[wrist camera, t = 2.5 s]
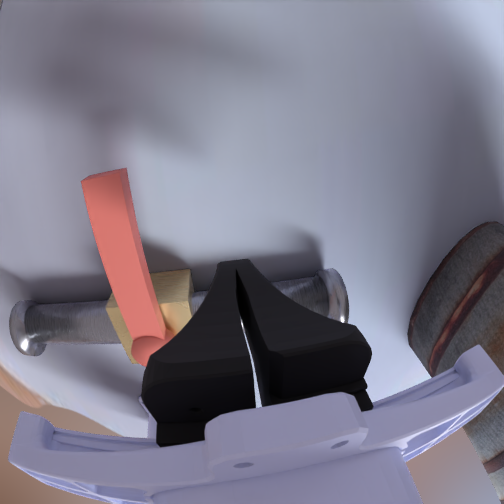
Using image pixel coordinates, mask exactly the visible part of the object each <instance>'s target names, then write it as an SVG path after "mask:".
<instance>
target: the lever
mask: <svg viewBox="0 0 504 504" xmlns="http://www.w3.org/2000/svg"><path fill="white" fill-rule="evenodd" d="M81 184H82V188H83V193H84V198H85V202H86V206H87V210H88V214H89V218H90V222H91V226H92V229H93V233H94V236H95V240H96V243H97V247H98V250H99V253H100V256H101V259H102V262H103V265H104V268H105V271H106V274H107V277H108V280H109V283H110V285H111V288H112V291H113V294H114V296H115V299H116V301H117V304H118V306H119V309H120V311H121V314H122V316H123V319H124V321H125V323H126V326H127V328H128V330H129V333H130V335H131V337H132V339H133V343H132V347H131V354H132V356H133V358H134V359H135V360H136V361H137V362H138V363H139V364H141V365H143V366H145V367H146V365H147V362H148V359H149V357H150V355H151V354H153V353H154V352H156V351H157V350H158V349H160V348H161V347H162V346H164V345H165V344H166V343H168V342H169V341H170V340H171V339H172V338H173V337H174V336H175V335H174V334H173V333H172V332H171V331H170V330H168V329H167V328H166V327H165V324H164V321H163V317H162V314H161V311H160V308H159V305H158V302H157V298H156V295H155V291H154V288H153V285H152V281H151V278H150V274H149V270H148V266H147V263H146V259H145V255H144V251H143V247H142V243H141V239H140V234H139V230H138V225H137V221H136V216H135V211H134V207H133V202H132V196H131V191H130V186H129V180H128V174H127V168H122V169H117V170H113V171H108V172H103V173H99V174H94V175H90V176H88V177H87V178H85V179H84V180H82V181H81Z"/></svg>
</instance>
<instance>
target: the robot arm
mask: <svg viewBox="0 0 504 504" xmlns="http://www.w3.org/2000/svg"><path fill="white" fill-rule="evenodd" d="M240 317H241V319H240ZM241 320H242V323H241ZM242 324H243V327H244V330H245V334H246V337H247V341H248V344H249V347H250V350H251V354H252V358H253V362H254V367H255V372H256V377H257V382H258V388H259V393H260V398H261V404H262V407H259V408H256V402H255V390H254V378H253V369H252V364H251V359H250V354H249V351H248V347H247V344H246V340H245V336H244V332H243V328H242ZM371 356H372V351H371V347H370V346H369V344H368V342H367V341H366V339H365V338H364V336H363V335H362V333H361V332H360V331H359V330H358V328H357V327H356V326H355V325H351V324H348V323H344V322H341V321H337V320H334V319H331V318H328V317H326V316H323V315H321V314H318V313H316V312H314V311H312V310H310V309H308V308H306V307H304V306H302V305H300V304H298V303H297V302H295V301H293V300H292V299H290V298H289V297H287V296H286V295H285V294H283V293H282V292H281V291H279V290H278V289H277V288H276V287H275V286H273V285H272V284H271V283H270V282H269V281H268V280H267V279H266V278H265V277H264V276H263V275H262V274H261V273H260V272H259V271H258V270H257V269H256V267H255V266H254V265H253V264H252V263H251V261H250V260H248V259H242V260H233V261H225V262H220V263H219V264H218V267H217V271H216V274H215V277H214V280H213V282H212V284H211V287H210V289H209V291H208V293H207V294H206V296H205V298H204V300H203V302H202V303H201V305H200V307H199V308H198V310H197V311H196V312H195V314H194V315H193V316H192V318H191V319H190V320H189V321H188V323H187V324H186V325H185V326H184V327H183V328H182V330H181V331H179V332H178V333H177V334H176V335H175V336H174V337H173V338H172V339H171V340H170V341H169V342H168V343H166V344H165V345H164V346H162V347H161V348H160V349H158V350H157V351H156V352H154V353H153V354H151V355H150V357H149V359H148V362H147V365H146V369H145V372H144V376H143V383H142V394H141V397H139V402H140V403H141V405H142V406H143V408H144V409H145V410H146V412H147V413H148V415H149V420H148V437H147V438H132V437H118V436H108V435H99V434H91V433H84V432H78V431H72V430H66V429H61V428H56V427H54V426H53V425H52V424H51V423H50V422H49V421H48V420H47V419H45V418H43V417H42V416H39V415H36V414H31V413H28V412H24V411H21V412H20V415H19V418H18V422H17V425H16V429H15V432H14V436H13V440H12V444H11V448H10V453H9V457H8V460H9V462H10V463H12V464H13V465H15V466H16V467H18V468H19V469H21V470H22V471H24V472H26V473H27V474H29V475H31V476H33V477H34V478H36V479H37V480H39V481H41V482H43V483H45V484H47V485H49V486H52V487H55V488H58V489H61V490H64V491H68V492H71V493H74V494H77V495H81V496H84V497H88V498H91V499H95V500H99V501H103V502H108V503H112V504H423V502H422V499H421V497H420V495H419V492H418V490H417V488H416V485H415V483H414V481H413V479H412V476H411V474H410V472H409V470H408V467H407V465H406V463H405V462H407V461H408V460H410V459H412V458H414V457H416V456H417V455H419V454H421V453H422V452H424V451H426V450H427V449H429V448H431V447H432V446H434V445H435V444H437V443H438V442H440V441H441V440H443V439H444V438H446V437H448V436H449V435H451V434H452V433H453V432H455V431H456V430H458V429H459V428H460V427H462V426H463V425H465V424H466V423H468V422H469V421H470V420H472V419H473V418H474V417H476V416H477V415H478V414H479V413H480V412H481V411H482V410H483V409H484V408H485V407H486V406H487V405H488V404H489V403H490V402H491V401H492V400H493V398H494V397H495V396H496V395H497V394H498V393H499V392H500V390H501V389H502V388H503V387H504V375H503V374H502V373H501V371H500V370H499V369H498V367H497V366H496V365H495V363H494V362H493V361H492V360H491V358H490V357H489V356H488V355H487V353H486V352H485V351H484V350H483V348H482V347H481V346H480V345H476V346H474V347H473V348H471V349H469V350H467V351H466V352H464V353H463V354H462V355H461V356H460V357H459V358H458V360H457V361H456V363H455V365H454V367H452V368H450V369H449V370H447V371H445V372H443V373H441V374H439V375H437V376H435V377H433V378H431V379H429V380H426V381H424V382H422V383H420V384H418V385H416V386H413V387H411V388H409V389H406V390H404V391H402V392H399V393H397V394H394V395H392V396H389V397H387V398H384V399H381V400H379V401H376V402H373V403H372V402H371V400H370V398H369V396H368V394H367V392H366V390H365V389H367V383H366V381H365V379H364V375H365V373H366V370H367V368H368V366H369V363H370V361H371Z"/></svg>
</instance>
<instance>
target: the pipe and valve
mask: <svg viewBox="0 0 504 504" xmlns="http://www.w3.org/2000/svg"><path fill="white" fill-rule="evenodd" d="M149 274H150V278H151V281H152V285H153V288H154V291H155V295H156V298H157V302H158V305H159V308H160V311H161V314H162V317H163V321H164V324H165V327H166V328H167V329H168V330H170V331H171V332H172V333H173V334H174V335H176V334H177V333H178V332H179V331H181V330H182V328H183V327H184V326H185V325H186V324H187V323H188V321H189V320H190V319H191V318H192V316H193V315H194V314H195V312H196V311H197V310H198V308H199V307H200V305H201V303H202V302H203V300H204V298H205V296H206V294H207V293H208V291H209V290H208V291H199V292H194V287H193V282H192V277H191V271H190V269H184V270H175V271H166V272H157V273H149ZM271 284H272V285H273V286H275V287H276V288H277V289H278V290H279V291H281V292H282V293H283V294H285V295H286V296H287V297H289V298H290V299H292V300H293V301H295V302H297V303H298V304H300V305H302V306H304V307H306V308H308V309H310V310H312V311H314V312H316V313H318V314H321V315H323V316H326V317H328V318H331V319H334V320H337V321H341V322H344V323H348V318H349V301H348V295H347V291H346V287H345V284H344V282H343V279H342V277H341V276H340V274H339V273H338V272H337V271H336V270H335V269H333V268H331V269H324V270H318V271H317V272H316V274H315V277H308V278H301V279H294V280H287V281H280V282H273V283H271ZM240 319H241V317H240ZM241 323H242V320H241ZM9 328H10V334H11V338H12V341H13V343H14V345H15V346H16V348H17V349H18V350H19V351H20V352H21V353H22V354H24V355H28V356H38V355H40V354H42V353H43V351H44V350H45V348H46V345H47V344H122V345H123V347H124V349H125V351H126V353H127V355H128V357H129V359H130V361H131V363H132V364H139V363H138V362H137V361H136V360H135V359H134V358H133V356H132V354H131V347H132V343H133V339H132V337H131V335H130V333H129V330H128V328H127V326H126V323H125V321H124V319H123V316H122V314H121V311H120V309H119V306H118V304H117V301H116V299H115V296H114V294H113V291H112V293H111V296H110V298H109V300H104V301H91V302H77V303H61V304H43V305H38V304H37V303H36V302H34V301H32V300H26V301H19V302H18V303H16V304H15V306H14V307H13V309H12V311H11V314H10V320H9ZM242 328H243V332H244V333H245V330H244V327H243V324H242Z"/></svg>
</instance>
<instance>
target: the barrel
mask: <svg viewBox="0 0 504 504" xmlns="http://www.w3.org/2000/svg"><path fill="white" fill-rule="evenodd" d="M408 341H409V345H410V347H411V348H412V350H413V351H414V353H415V354H416V355H417V357H418V358H419V360H420V361H421V363H422V364H423V366H424V367H425V368H426V370H427V371H428V373H429V374H430V376H431V377H432V378H433V377H435V376H437V375H439V374H441V373H443V372H445V371H447V370H449V369H450V368H452V367H454V365H455V363H456V361H457V360H458V358H459V357H460V356H461V355H462V354H463V353H464V352H466V351H467V350H469V349H471V348H473V347H474V346H476V345H480V346H481V347H482V348H483V350H484V351H485V352H486V353H487V355H488V356H489V357H490V358H491V360H492V361H493V362H494V363H495V365H496V366H497V367H498V369H499V370H500V371H501V373H502V374H503V375H504V226H503V225H501V224H500V223H498V222H486V223H484V224H482V225H480V226H478V227H476V228H474V229H473V230H472V231H470V232H469V233H468V234H467V235H466V236H465V237H463V238H462V239H461V240H460V241H459V242H458V243H457V244H456V246H455V247H454V248H453V249H452V250H451V251H450V252H449V254H448V255H447V256H446V257H445V258H444V259H443V261H442V262H441V264H440V265H439V267H438V268H437V270H436V271H435V272H434V274H433V275H432V277H431V278H430V280H429V281H428V283H427V285H426V287H425V289H424V290H423V292H422V294H421V296H420V298H419V299H418V301H417V304H416V307H415V309H414V311H413V314H412V316H411V319H410V324H409V329H408ZM462 427H463V429H464V430H465V432H466V434H467V435H468V437H469V439H470V441H471V443H472V444H473V446H474V448H475V450H476V452H477V454H478V456H479V457H480V459H481V461H482V463H483V465H484V467H485V469H486V471H487V473H488V475H489V477H490V479H491V481H492V484H493V486H494V488H495V490H496V492H497V494H498V497H499V499H500V501H501V504H504V387H503V388H502V389H501V390H500V392H499V393H498V394H497V395H496V396H495V397H494V398H493V400H492V401H491V402H490V403H489V404H488V405H487V406H486V407H485V408H484V409H483V410H482V411H481V412H480V413H479V414H478V415H477V416H476V417H474V418H473V419H472V420H470V421H469V422H468V423H466V424H465V425H463V426H462Z"/></svg>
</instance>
